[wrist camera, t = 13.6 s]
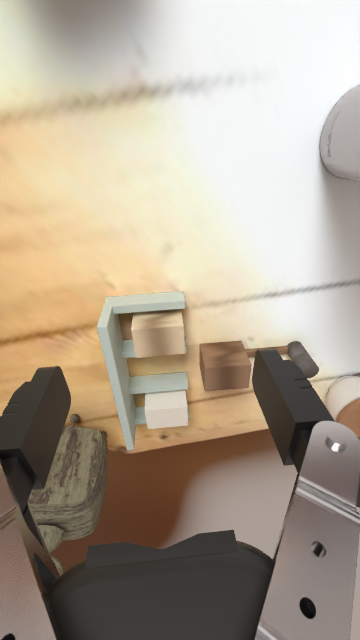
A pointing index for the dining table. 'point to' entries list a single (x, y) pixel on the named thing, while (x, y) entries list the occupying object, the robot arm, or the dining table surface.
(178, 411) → the cream block
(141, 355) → the oak block
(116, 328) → the lane shelf
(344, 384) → the lidded jar
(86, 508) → the tabletop clock
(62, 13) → the dining table surface
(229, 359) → the tow block
